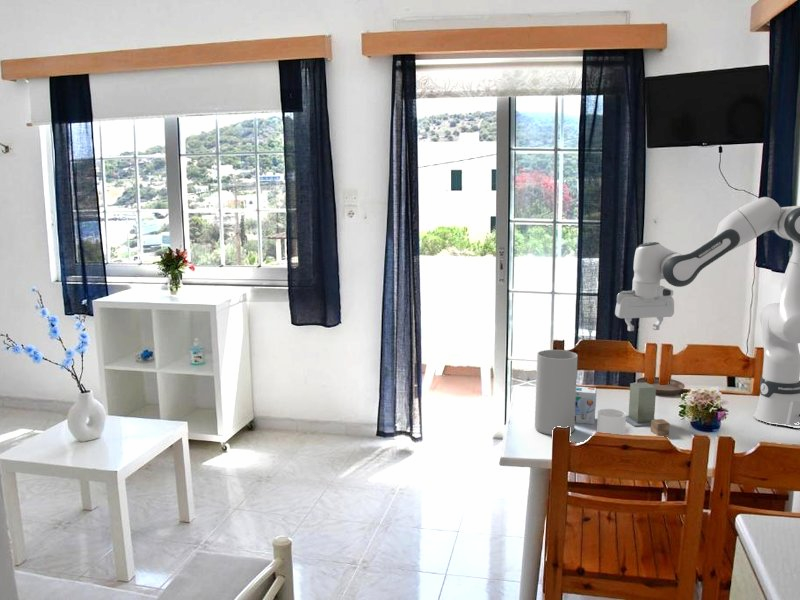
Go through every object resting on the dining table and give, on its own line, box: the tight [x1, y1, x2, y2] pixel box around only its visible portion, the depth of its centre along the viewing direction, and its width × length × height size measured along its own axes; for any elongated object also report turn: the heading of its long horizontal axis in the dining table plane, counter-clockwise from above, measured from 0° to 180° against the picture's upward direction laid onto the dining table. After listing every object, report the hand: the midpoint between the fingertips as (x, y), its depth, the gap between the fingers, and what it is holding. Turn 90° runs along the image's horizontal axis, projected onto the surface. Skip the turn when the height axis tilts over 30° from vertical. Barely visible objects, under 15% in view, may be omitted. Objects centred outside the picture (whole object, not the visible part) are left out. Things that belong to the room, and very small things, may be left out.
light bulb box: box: [575, 385, 597, 425], centre depth 248 cm, size 11×7×11 cm, turn 73°
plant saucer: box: [635, 376, 686, 396], centre depth 284 cm, size 18×18×3 cm
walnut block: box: [650, 418, 670, 436], centre depth 236 cm, size 4×4×4 cm
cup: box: [596, 408, 627, 436], centre depth 227 cm, size 8×12×10 cm
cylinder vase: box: [534, 349, 578, 436], centre depth 237 cm, size 12×12×25 cm
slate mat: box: [626, 415, 656, 428], centre depth 248 cm, size 10×10×1 cm
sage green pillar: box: [627, 382, 657, 423], centre depth 247 cm, size 6×6×12 cm
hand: (643, 330), depth 253 cm, fingers open, 8 cm apart
